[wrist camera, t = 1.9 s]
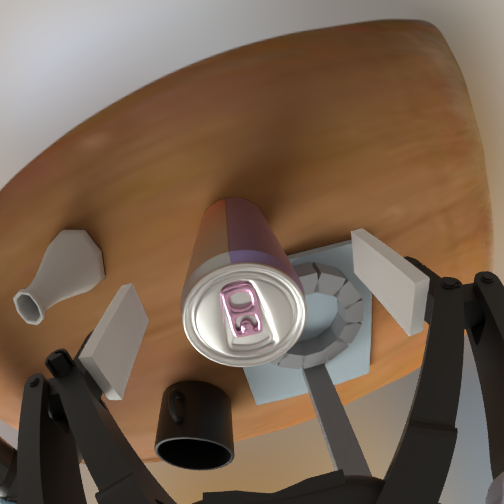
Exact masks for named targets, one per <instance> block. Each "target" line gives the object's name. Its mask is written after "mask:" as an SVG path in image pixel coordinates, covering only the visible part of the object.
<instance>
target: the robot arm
mask: <svg viewBox="0 0 504 504" xmlns="http://www.w3.org/2000/svg"><path fill="white" fill-rule="evenodd" d="M351 238H352V249H353V263H354V273H355V274H356V275H357V276H358V278H359V279H360V280H361V281H362V282H363V283H364V284H365V285H366V287H367V288H368V289H369V290H370V291H371V292H372V293H373V294H374V296H375V297H376V298H377V299H378V300H379V301H380V302H381V304H382V305H383V306H384V307H385V308H386V309H387V311H388V312H389V313H390V314H391V315H392V317H393V318H394V319H395V320H396V321H397V322H398V324H399V325H400V326H401V327H402V328H403V330H404V331H405V332H406V333H407V335H408V336H409V337H410V336H412V335H414V334H417V333H419V332H421V331H423V327H424V320H425V321H426V322H427V323H428V324H429V330H428V335H427V340H426V347H425V352H424V357H423V362H422V366H421V371H420V375H419V379H418V383H417V387H416V391H415V395H414V399H413V402H412V405H411V409H410V412H409V415H408V418H407V421H406V425H405V427H404V430H403V433H402V436H401V439H400V442H399V444H398V447H397V449H396V452H395V454H394V457H393V459H392V462H391V464H390V466H389V468H388V471H387V473H386V475H385V477H384V479H383V480H382V479H379V478H376V477H371V476H365V475H344V472H343V469H340V470H337V471H334V472H330V473H327V474H323V475H319V476H315V477H311V478H308V479H306V480H303V481H301V482H299V483H297V484H295V485H293V486H290V487H288V488H285V489H283V490H281V491H278V492H275V493H256V492H245V491H236V490H235V491H224V492H206V493H203V500H201V501H198V502H195V503H193V504H441V503H438V501H439V498H440V495H441V492H442V490H443V487H444V484H445V481H446V477H447V474H448V471H449V467H450V464H451V460H452V456H453V452H454V448H455V444H456V439H457V428H455V420H456V415H457V409H458V402H459V395H460V388H461V378H462V367H463V351H464V329H466V331H467V334H468V337H469V341H470V344H471V348H472V352H473V355H474V359H475V363H476V367H477V372H478V376H479V380H480V384H481V390H482V395H483V401H484V407H485V414H486V421H487V429H488V438H489V450H490V463H491V471H492V476H493V482H492V483H491V485H490V487H489V489H488V494H487V497H486V501H485V502H486V504H504V286H503V284H502V283H501V281H500V280H499V278H498V277H497V276H496V275H495V274H493V273H491V272H488V271H486V272H479V273H477V274H476V275H475V278H474V283H470V284H464V285H462V283H461V282H460V281H459V280H458V279H455V278H452V277H443V278H441V277H439V276H438V275H437V274H435V273H434V272H433V271H431V270H430V269H429V268H427V267H426V266H425V265H422V263H420V262H419V261H418V260H416V259H414V258H411V257H408V256H407V257H404V258H403V257H402V256H401V255H399V254H398V253H396V252H395V251H394V250H392V249H391V248H390V247H388V246H387V245H386V244H384V243H383V242H381V241H380V240H379V239H377V238H376V237H374V236H373V235H371V234H370V233H369V232H367V231H366V230H364V229H363V228H361V229H357V230H353V231H351ZM148 322H149V319H148V317H147V315H146V312H145V310H144V308H143V306H142V304H141V301H140V299H139V297H138V295H137V292H136V290H135V288H134V285H133V283H130V284H126V285H122V286H121V287H120V289H119V290H118V292H117V294H116V295H115V297H114V298H113V300H112V301H111V303H110V305H109V306H108V308H107V309H106V311H105V313H104V314H103V316H102V318H101V319H100V321H99V323H98V324H97V326H96V328H95V329H94V330H93V331H92V332H91V333H90V334H89V335H88V336H87V337H86V339H85V341H84V344H82V346H81V349H79V351H78V353H77V355H76V356H75V358H74V360H72V358H71V357H70V355H69V354H68V352H67V351H66V349H58V350H56V351H54V352H53V353H51V354H50V355H49V356H48V357H47V359H46V361H45V365H46V366H47V368H48V369H49V371H50V372H51V373H52V375H53V376H54V377H55V378H52V379H49V380H46V378H45V377H44V376H43V375H42V374H41V373H37V374H34V375H32V376H30V377H29V378H28V380H27V382H26V384H25V388H24V393H23V400H22V406H21V414H20V423H19V434H18V448H17V450H16V449H15V448H13V447H12V446H11V445H10V444H8V443H7V442H6V441H5V440H4V439H2V438H1V437H0V504H87V502H86V498H85V494H84V489H83V484H82V480H81V474H80V468H79V464H80V463H81V461H82V459H84V461H85V463H86V465H87V467H88V470H89V471H90V474H91V476H92V478H93V480H94V481H95V484H96V486H97V487H98V490H99V492H98V493H96V494H95V497H96V500H97V502H98V504H177V503H176V502H175V501H174V500H173V499H172V498H171V497H170V496H169V495H168V494H167V492H166V491H165V490H164V489H163V488H162V486H161V485H160V484H159V483H158V482H157V480H156V479H155V478H154V477H153V475H152V474H151V473H150V471H149V470H148V469H147V468H146V466H145V465H144V464H143V462H142V461H141V459H140V458H139V457H138V455H137V454H136V452H135V451H134V450H133V448H132V447H131V445H130V444H129V442H128V441H127V439H126V438H125V436H124V435H123V433H122V432H121V430H120V428H119V427H118V425H117V424H116V422H115V420H114V419H113V417H112V415H111V414H110V412H109V410H108V408H107V407H106V405H105V403H104V402H103V400H102V399H101V395H102V392H103V393H104V394H105V396H106V397H107V398H108V399H109V400H122V398H123V395H124V392H125V389H126V386H127V383H128V379H129V376H130V373H131V370H132V367H133V364H134V361H135V359H136V356H137V353H138V350H139V347H140V344H141V341H142V339H143V336H144V333H145V330H146V328H147V325H148Z"/></svg>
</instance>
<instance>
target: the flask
mask: <svg viewBox="0 0 504 504" xmlns="http://www.w3.org/2000/svg"><path fill="white" fill-rule="evenodd" d="M104 278H105V273H104V266H103V259H102V252H101V250H100V249H99V248H98V247H97V245H96V244H95V243H94V241H93V240H92V239H91V237H90V236H89V235H88V233H87V232H86V231H85V230H62V231H61V232H60V233H59V234H58V235H57V236H56V237H55V238H54V240H53V241H52V242H51V243H50V244H49V245H48V247H47V250H46V252H45V255H44V257H43V260H42V262H41V265H40V267H39V269H38V271H37V274H36V276H35V278H34V280H33V281H32V283H31V284H30V285H29V286H28V287H27V288H26V289H20V290H19V291H18V292H17V294H16V295H15V296H14V298H13V300H14V303H15V306H16V309H17V312H18V313H19V314H20V316H21V317H22V318H23V319H24V320H25V322H26V323H28V324H33V325H38V324H39V323H40V322H41V321H42V320H43V319H44V318H45V317H46V314H45V312H46V310H47V309H48V308H50V307H51V306H53V305H54V304H55V303H57V302H59V301H62V300H64V299H67V298H70V297H72V296H76V295H79V294H82V293H85V292H88V291H90V290H91V289H92V288H94V287H95V286H96V285H97V284H98V283H99V282H101V281H102V280H103V279H104Z"/></svg>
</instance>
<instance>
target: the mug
mask: <svg viewBox="0 0 504 504" xmlns="http://www.w3.org/2000/svg"><path fill="white" fill-rule="evenodd" d="M155 453H156V454H157V456H158V457H159V458H160V459H162V460H163V461H165V462H167V463H169V464H171V465H173V466H176V467H180V468H184V469H190V470H212V469H218V468H221V467H224V466H226V465H228V464H229V463H231V462H232V460H233V459H234V443H233V429H232V414H231V402H230V399H229V398H228V396H227V395H226V393H225V392H224V391H222V390H221V389H219V388H218V387H216V386H213V385H211V384H208V383H203V382H196V381H187V382H181V383H177V384H174V385H172V386H171V387H169V388H168V389H167V390H166V391H165V392H164V394H163V397H162V403H161V409H160V415H159V421H158V428H157V434H156V441H155Z"/></svg>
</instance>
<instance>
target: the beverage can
mask: <svg viewBox="0 0 504 504" xmlns="http://www.w3.org/2000/svg"><path fill="white" fill-rule="evenodd" d="M181 313H182V322H183V327H184V331H185V334H186V336H187V338H188V340H189V341H190V343H191V344H192V345H193V346H194V348H195V349H196V350H197V351H198V352H200V353H201V354H202V355H203V356H205V357H207V358H208V359H210V360H212V361H214V362H217V363H220V364H223V365H227V366H234V367H250V366H257V365H261V364H264V363H267V362H270V361H272V360H274V359H276V358H278V357H280V356H281V355H283V354H284V353H286V352H287V351H288V350H289V349H290V348H291V347H292V346H293V345H294V344H295V343H296V342H297V340H298V339H299V337H300V336H301V334H302V332H303V329H304V327H305V323H306V318H307V307H306V302H305V294H304V289H303V286H302V283H301V281H300V279H299V277H298V275H297V273H296V272H295V270H294V268H293V266H292V264H291V263H290V261H289V259H288V257H287V256H286V254H285V252H284V250H283V249H282V247H281V245H280V243H279V242H278V240H277V238H276V236H275V235H274V233H273V231H272V229H271V228H270V226H269V224H268V222H267V221H266V219H265V217H264V215H263V214H262V212H261V211H260V209H259V208H258V207H257V206H256V205H255V204H253V203H252V202H250V201H248V200H246V199H243V198H238V197H229V198H224V199H221V200H219V201H217V202H215V203H214V204H213V205H211V206H210V207H209V208H208V209H207V211H206V212H205V214H204V215H203V218H202V220H201V224H200V227H199V231H198V235H197V238H196V242H195V245H194V249H193V253H192V257H191V260H190V264H189V268H188V272H187V276H186V280H185V284H184V288H183V292H182V296H181Z"/></svg>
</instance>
